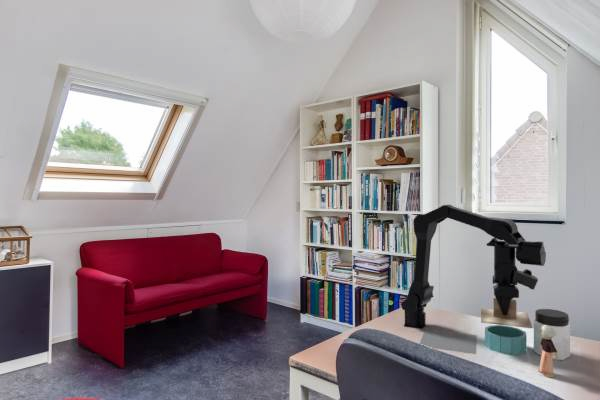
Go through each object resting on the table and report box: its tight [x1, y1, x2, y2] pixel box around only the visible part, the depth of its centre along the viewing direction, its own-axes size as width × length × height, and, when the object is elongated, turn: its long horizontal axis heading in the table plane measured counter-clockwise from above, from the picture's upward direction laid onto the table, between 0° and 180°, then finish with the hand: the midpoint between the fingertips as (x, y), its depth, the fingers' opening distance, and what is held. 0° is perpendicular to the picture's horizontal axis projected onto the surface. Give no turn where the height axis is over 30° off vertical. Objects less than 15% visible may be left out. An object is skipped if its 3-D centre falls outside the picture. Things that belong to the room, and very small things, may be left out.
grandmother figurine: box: [537, 325, 558, 378], centre depth 103 cm, size 8×4×13 cm, turn 5°
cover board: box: [480, 297, 533, 329], centre depth 120 cm, size 13×13×6 cm
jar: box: [533, 308, 571, 361], centre depth 116 cm, size 9×8×12 cm
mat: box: [419, 328, 477, 355], centre depth 126 cm, size 16×16×1 cm
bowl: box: [484, 324, 527, 355], centre depth 121 cm, size 11×11×5 cm
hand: (504, 313), depth 120 cm, fingers closed on cover board, 3 cm apart
